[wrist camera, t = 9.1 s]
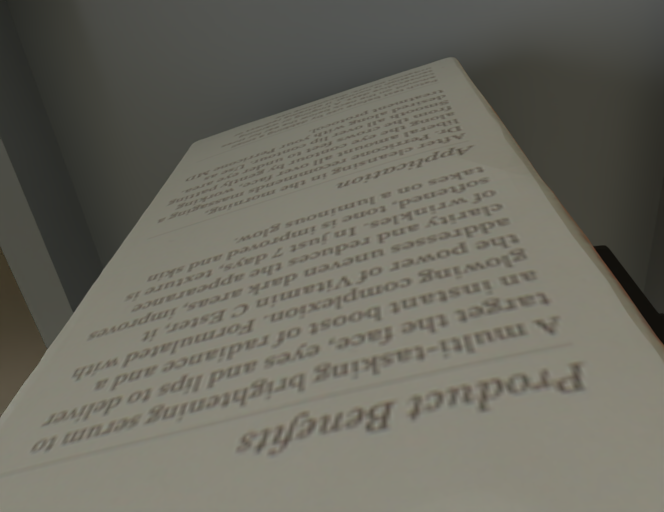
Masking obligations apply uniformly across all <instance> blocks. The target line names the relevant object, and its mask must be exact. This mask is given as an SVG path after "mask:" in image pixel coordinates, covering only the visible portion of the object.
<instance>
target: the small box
mask: <svg viewBox="0 0 664 512" xmlns="http://www.w3.org/2000/svg"><path fill="white" fill-rule="evenodd" d="M0 512H664V345H663V343H662V342H661V341H660V340H659V338H658V337H657V336H656V334H655V333H654V332H653V330H652V329H651V327H650V326H649V325H648V323H647V322H646V320H645V319H644V317H643V316H642V314H641V313H640V312H639V310H638V309H637V307H636V306H635V304H634V303H633V302H632V300H631V299H630V297H629V296H628V294H627V293H626V291H625V290H624V289H623V287H622V286H621V284H620V283H619V282H618V280H617V279H616V278H615V276H614V275H613V273H612V272H611V271H610V269H609V268H608V267H607V265H606V264H605V263H604V261H603V260H602V259H601V257H600V256H599V254H598V253H597V252H596V250H595V249H594V247H593V246H592V244H591V242H590V241H589V239H588V238H587V236H586V235H585V234H584V233H583V231H582V230H581V229H580V228H579V226H578V225H577V224H576V222H575V221H574V220H573V219H572V217H571V216H570V215H569V213H568V212H567V211H566V209H565V208H564V207H563V205H562V204H561V203H560V201H559V200H558V198H557V197H556V195H555V194H554V192H553V191H552V190H551V189H550V188H549V187H548V186H547V184H546V183H545V182H544V181H543V180H542V179H541V177H540V176H539V174H538V173H537V171H536V170H535V168H534V167H533V165H532V164H531V163H530V161H529V160H528V158H527V157H526V155H525V154H524V152H523V151H522V149H521V148H520V147H519V145H518V144H517V142H516V141H515V139H514V138H513V137H512V135H511V134H510V132H509V131H508V129H507V128H506V127H505V125H504V124H503V122H502V121H501V119H500V118H499V116H498V115H497V114H496V112H495V111H494V110H493V108H492V107H491V106H490V104H489V103H488V102H487V100H486V99H485V98H484V96H483V95H482V94H481V92H480V91H479V90H478V89H477V87H476V86H475V85H474V83H473V82H472V80H471V79H470V78H469V76H468V75H467V73H466V72H465V70H464V69H463V67H462V66H461V64H460V62H459V61H458V60H457V59H456V58H454V57H448V58H444V59H441V60H438V61H435V62H432V63H429V64H426V65H423V66H420V67H417V68H413V69H410V70H407V71H404V72H401V73H398V74H395V75H392V76H389V77H385V78H382V79H379V80H376V81H373V82H370V83H367V84H364V85H361V86H358V87H355V88H352V89H349V90H346V91H343V92H340V93H337V94H334V95H331V96H328V97H325V98H322V99H319V100H316V101H313V102H310V103H307V104H304V105H301V106H298V107H295V108H292V109H290V110H287V111H284V112H281V113H278V114H275V115H272V116H269V117H266V118H263V119H260V120H257V121H254V122H250V123H247V124H244V125H241V126H238V127H236V128H233V129H230V130H227V131H224V132H222V133H219V134H216V135H213V136H210V137H208V138H205V139H201V140H199V141H197V142H195V143H193V144H192V145H191V146H190V148H189V150H188V151H187V152H186V154H185V155H184V157H183V158H182V160H181V161H180V162H179V164H178V165H177V167H176V168H175V170H174V171H173V173H172V174H171V175H170V177H169V178H168V180H167V181H166V183H165V184H164V185H163V187H162V188H161V189H160V191H159V192H158V194H157V195H156V197H155V198H154V200H153V201H152V203H151V204H150V205H149V207H148V208H147V209H146V211H145V212H144V213H143V215H142V216H141V218H140V219H139V221H138V222H137V224H136V225H135V226H134V228H133V229H132V231H131V232H130V233H129V235H128V236H127V238H126V239H125V240H124V242H123V243H122V245H121V246H120V248H119V249H118V250H117V252H116V253H115V255H114V256H113V257H112V259H111V260H110V261H109V263H108V264H107V265H106V267H105V268H104V269H103V271H102V273H101V274H100V276H99V277H98V279H97V280H96V281H95V283H94V284H93V285H92V287H91V288H90V290H89V291H88V293H87V294H86V296H85V297H84V299H83V300H82V302H81V303H80V305H79V306H78V307H77V309H76V310H75V312H74V313H73V315H72V316H71V318H70V319H69V321H68V322H67V323H66V325H65V326H64V328H63V329H62V330H61V332H60V333H59V335H58V336H57V337H56V339H55V340H54V341H53V343H52V344H51V345H50V347H49V348H48V349H47V351H46V353H45V354H44V356H43V357H42V359H41V361H40V362H39V364H38V365H37V367H36V368H35V369H34V371H33V372H32V373H31V374H30V376H29V377H28V378H27V380H26V381H25V382H24V384H23V385H22V387H21V388H20V390H19V391H18V393H17V394H16V395H15V397H14V398H13V400H12V401H11V403H10V404H9V406H8V407H7V408H6V410H5V411H4V413H3V414H2V416H1V417H0Z"/></svg>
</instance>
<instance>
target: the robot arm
mask: <svg viewBox="0 0 664 512" xmlns="http://www.w3.org/2000/svg"><path fill="white" fill-rule="evenodd" d="M593 247H594V249H595V250H596V252H597V253H598V254H599V256H600V257H601V259H602V260H603V261H604V263H605V264H606V265H607V267H608V268H609V269H610V271H611V272H612V273H613V275H614V276H615V278H616V279H617V280H618V282H619V283H620V284H621V286H622V287H623V289H624V290H625V291H626V293H627V294H628V296H629V297H630V299H631V300H632V302H633V303H634V304H635V306H636V307H637V309H638V310H639V312H640V313H641V314H642V316H643V317H644V319H645V320H646V322H647V323H648V325H649V326H650V327H651V329H652V330H653V332H654V333H655V334H656V336H657V337H658V338H659V340H660V341H661V342H662V343H663V345H664V313H658V312H657V311H656V309H655V308H654V307H653V305H652V304H651V303H650V301H649V300H648V299H647V297H646V296H645V295H644V293H643V292H642V291H641V290H640V288H639V287H638V286H637V284H636V283H635V282H634V280H633V279H632V278H631V276H630V275H629V274H628V272H627V271H626V270H625V269H624V267H623V266H622V265H621V263H620V262H619V261H618V259H617V258H616V257H615V255H614V254H613V253H612V251H611V250H610V249H609V248H608V247H607V246H606V245H600V246H593Z"/></svg>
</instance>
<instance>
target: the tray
mask: <svg viewBox="0 0 664 512" xmlns="http://www.w3.org/2000/svg"><path fill="white" fill-rule="evenodd" d="M448 57H454V58H456V59H457V60H458V61H459V62H460V64H461V66H462V67H463V69H464V70H465V72H466V73H467V75H468V76H469V78H470V79H471V80H472V82H473V83H474V85H475V86H476V87H477V89H478V90H479V91H480V92H481V94H482V95H483V96H484V98H485V99H486V100H487V102H488V103H489V104H490V106H491V107H492V108H493V110H494V111H495V112H496V114H497V115H498V116H499V118H500V119H501V121H502V122H503V124H504V125H505V127H506V128H507V129H508V131H509V132H510V134H511V135H512V137H513V138H514V139H515V141H516V142H517V144H518V145H519V147H520V148H521V149H522V151H523V152H524V154H525V155H526V157H527V158H528V160H529V161H530V163H531V164H532V165H533V167H534V168H535V170H536V171H537V173H538V174H539V176H540V177H541V179H542V180H543V181H544V182H545V183H546V184H547V186H548V187H549V188H550V189H551V190H552V191H553V192H554V194H555V195H556V197H557V198H558V200H559V201H560V203H561V204H562V205H563V207H564V208H565V209H566V211H567V212H568V213H569V215H570V216H571V217H572V219H573V220H574V221H575V222H576V224H577V225H578V226H579V228H580V229H581V230H582V231H583V233H584V234H585V235H586V236H587V238H588V239H589V241H590V242H591V244H592V246H600V245H606V246H607V247H608V248H609V249H610V250H611V251H612V253H613V254H614V255H615V257H616V258H617V259H618V261H619V262H620V263H621V265H622V266H623V267H624V269H625V270H626V271H627V272H628V274H629V275H630V276H631V278H632V279H633V280H634V282H635V283H636V284H637V286H638V287H639V288H640V290H641V291H642V292H643V293H644V295H645V296H646V297H647V299H648V300H649V301H650V303H651V304H652V305H653V307H654V308H655V309H656V311H657V312H658V313H664V0H0V247H1V249H2V251H3V254H4V256H5V258H6V260H7V262H8V265H9V267H10V269H11V271H12V273H13V275H14V278H15V280H16V282H17V284H18V286H19V289H20V291H21V293H22V295H23V297H24V300H25V302H26V304H27V306H28V308H29V311H30V313H31V315H32V317H33V319H34V321H35V324H36V326H37V328H38V330H39V332H40V335H41V337H42V339H43V341H44V343H45V346H46V348H47V349H48V348H49V347H50V345H51V344H52V343H53V341H54V340H55V339H56V337H57V336H58V335H59V333H60V332H61V330H62V329H63V328H64V326H65V325H66V323H67V322H68V321H69V319H70V318H71V316H72V315H73V313H74V312H75V310H76V309H77V307H78V306H79V305H80V303H81V302H82V300H83V299H84V297H85V296H86V294H87V293H88V291H89V290H90V288H91V287H92V285H93V284H94V283H95V281H96V280H97V279H98V277H99V276H100V274H101V273H102V271H103V269H104V268H105V267H106V265H107V264H108V263H109V261H110V260H111V259H112V257H113V256H114V255H115V253H116V252H117V250H118V249H119V248H120V246H121V245H122V243H123V242H124V240H125V239H126V238H127V236H128V235H129V233H130V232H131V231H132V229H133V228H134V226H135V225H136V224H137V222H138V221H139V219H140V218H141V216H142V215H143V213H144V212H145V211H146V209H147V208H148V207H149V205H150V204H151V203H152V201H153V200H154V198H155V197H156V195H157V194H158V192H159V191H160V189H161V188H162V187H163V185H164V184H165V183H166V181H167V180H168V178H169V177H170V175H171V174H172V173H173V171H174V170H175V168H176V167H177V165H178V164H179V162H180V161H181V160H182V158H183V157H184V155H185V154H186V152H187V151H188V150H189V148H190V146H191V145H192V144H193V143H195V142H197V141H199V140H201V139H205V138H208V137H210V136H213V135H216V134H219V133H222V132H224V131H227V130H230V129H233V128H236V127H238V126H241V125H244V124H247V123H250V122H254V121H257V120H260V119H263V118H266V117H269V116H272V115H275V114H278V113H281V112H284V111H287V110H290V109H292V108H295V107H298V106H301V105H304V104H307V103H310V102H313V101H316V100H319V99H322V98H325V97H328V96H331V95H334V94H337V93H340V92H343V91H346V90H349V89H352V88H355V87H358V86H361V85H364V84H367V83H370V82H373V81H376V80H379V79H382V78H385V77H389V76H392V75H395V74H398V73H401V72H404V71H407V70H410V69H413V68H417V67H420V66H423V65H426V64H429V63H432V62H435V61H438V60H441V59H444V58H448Z"/></svg>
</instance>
